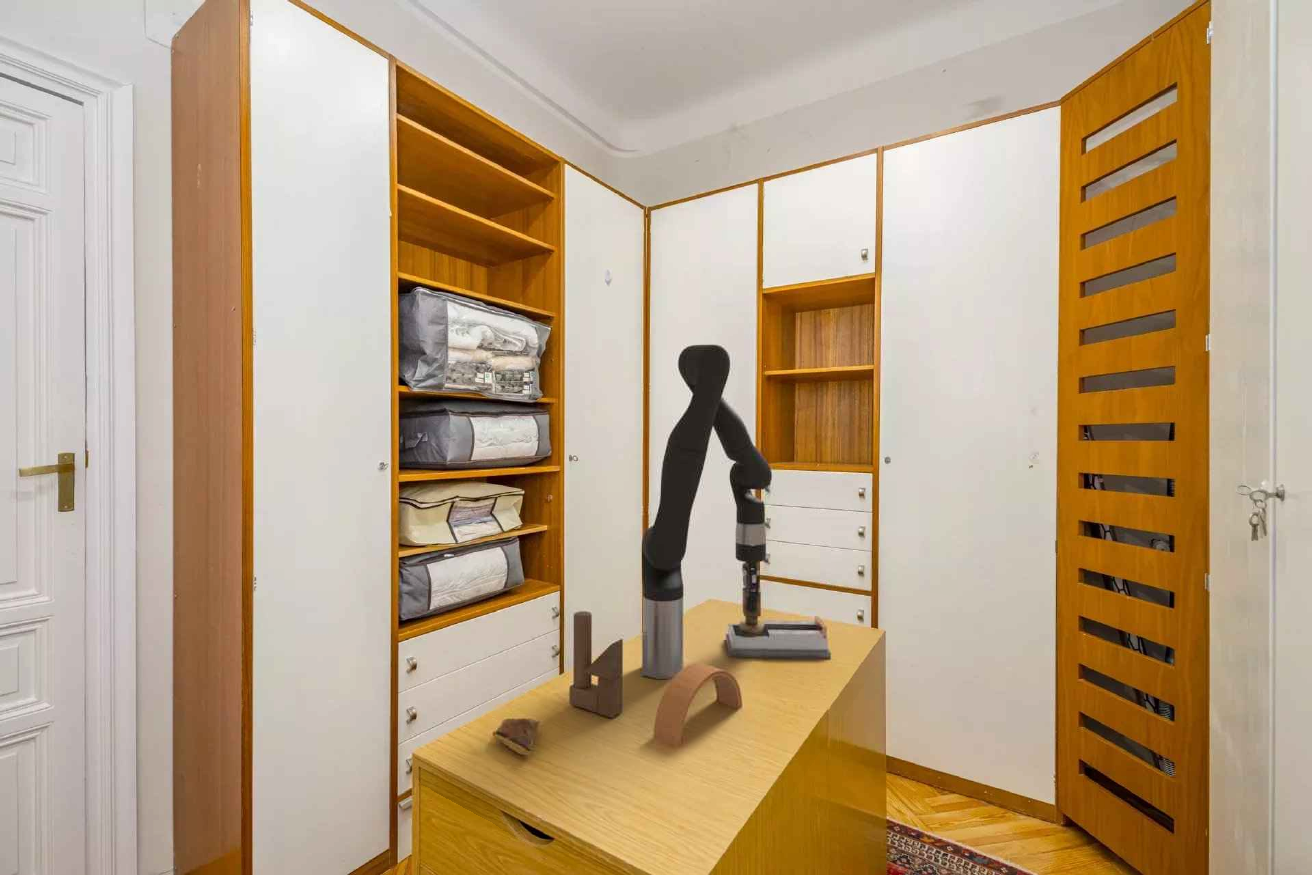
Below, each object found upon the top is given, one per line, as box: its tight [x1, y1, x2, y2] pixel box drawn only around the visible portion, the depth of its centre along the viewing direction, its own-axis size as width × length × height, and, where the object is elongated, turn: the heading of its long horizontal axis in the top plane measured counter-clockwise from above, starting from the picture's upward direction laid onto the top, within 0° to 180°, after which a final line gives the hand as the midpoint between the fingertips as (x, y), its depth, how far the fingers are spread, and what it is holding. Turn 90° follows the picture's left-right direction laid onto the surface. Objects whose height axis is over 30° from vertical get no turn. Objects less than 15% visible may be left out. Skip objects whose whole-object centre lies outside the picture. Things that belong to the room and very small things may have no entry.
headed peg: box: [738, 587, 764, 634], centre depth 145 cm, size 6×6×10 cm
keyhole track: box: [725, 615, 832, 660], centre depth 145 cm, size 24×12×7 cm, turn 88°
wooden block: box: [568, 610, 624, 719], centre depth 114 cm, size 4×11×18 cm, turn 57°
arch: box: [653, 662, 743, 749], centre depth 109 cm, size 6×20×10 cm, turn 138°
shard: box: [492, 718, 540, 758], centre depth 100 cm, size 11×8×2 cm
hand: (750, 608), depth 145 cm, fingers closed on headed peg, 4 cm apart
